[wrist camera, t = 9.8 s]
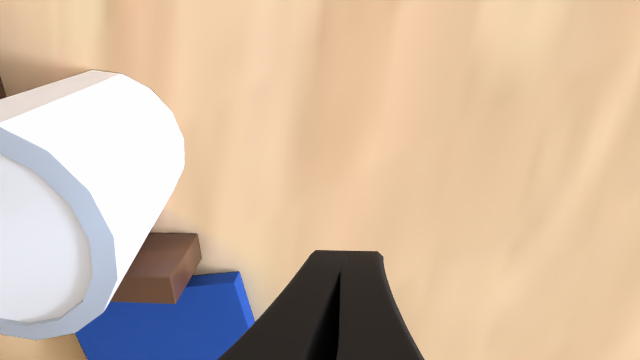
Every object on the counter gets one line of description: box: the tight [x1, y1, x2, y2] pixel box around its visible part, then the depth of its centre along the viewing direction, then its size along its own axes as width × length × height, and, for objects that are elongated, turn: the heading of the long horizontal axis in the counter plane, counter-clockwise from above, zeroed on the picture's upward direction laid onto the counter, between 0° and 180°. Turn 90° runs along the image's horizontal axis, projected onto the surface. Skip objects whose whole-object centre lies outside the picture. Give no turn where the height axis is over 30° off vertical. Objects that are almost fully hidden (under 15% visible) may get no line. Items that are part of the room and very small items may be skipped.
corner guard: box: [0, 79, 202, 304], centre depth 20 cm, size 8×11×3 cm
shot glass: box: [0, 70, 184, 340], centre depth 18 cm, size 7×7×7 cm
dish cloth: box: [75, 272, 255, 360], centre depth 24 cm, size 8×7×1 cm
